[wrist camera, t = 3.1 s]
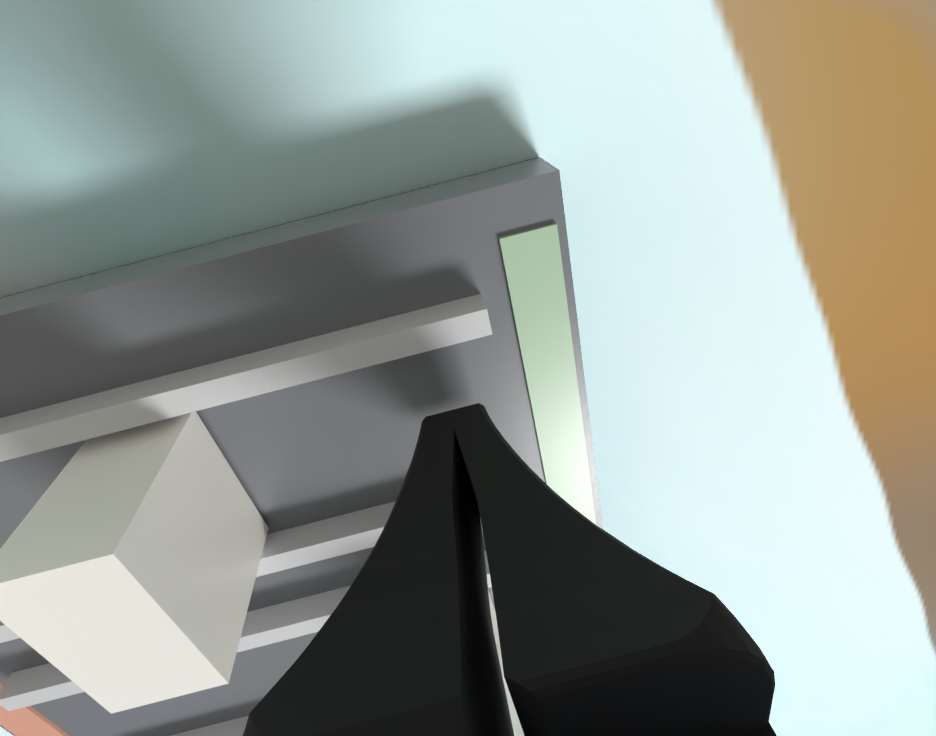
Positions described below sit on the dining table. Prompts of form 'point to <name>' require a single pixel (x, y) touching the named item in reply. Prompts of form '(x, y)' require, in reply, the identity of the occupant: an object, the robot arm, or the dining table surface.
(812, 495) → the dining table surface
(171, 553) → the block
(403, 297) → the breaker panel
